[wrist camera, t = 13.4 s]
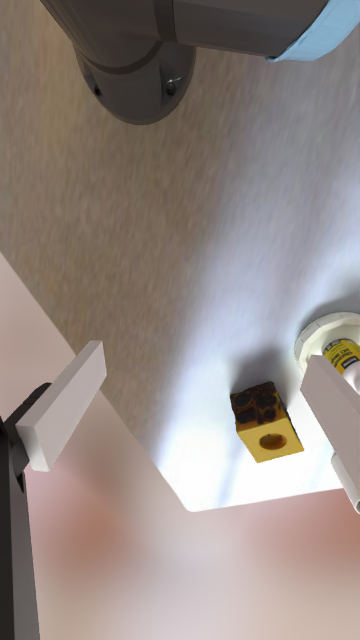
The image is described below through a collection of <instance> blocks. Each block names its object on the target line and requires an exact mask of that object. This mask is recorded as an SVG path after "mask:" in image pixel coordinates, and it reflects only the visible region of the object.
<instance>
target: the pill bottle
mask: <svg viewBox="0 0 360 640" xmlns="http://www.w3.org/2000/svg"><path fill="white" fill-rule="evenodd" d="M321 355H324V356H325V357H326V358H327V359H328V360H329V362H330V363H331V364H332V365H333V366H334V367H335V368H336V369H337V371H338V372H339V373H340V374H341V375H342V376H343V377H344V378H345V380H346V381H347V382H348V383H349V384H350V385H351V386H352V387H353V389H354V390H355V391H356V392H357V393H358V394H359V395H360V346H359V345H358V344H357V343H355V342H354V341H353V340H351V339H349V338H346V337H337V338H334V339H332V340H330V341H328V342H327V343H326V344H325V345H324V347H323V348H322V352H321Z"/></svg>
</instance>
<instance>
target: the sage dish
mask: <svg viewBox="0 0 360 640" xmlns="http://www.w3.org/2000/svg"><path fill="white" fill-rule="evenodd" d="M337 337H346V338H349V339H351V340H353V341H354V342H355V343H357V344H358V345H359V346H360V314H357V313H353V312H335V313H331V314H327V315H324V316H322V317H320V318H318V319H316V320H314V321H313V322H312V323H310V324H309V325H308V326H307V327H306V328H305V329H304V330H303V331H302V332H301V333H300V335H299V336H298V338H297V340H296V343H295V347H294V356H295V360H296V362H297V364H298V365H299V367H300V369H301V371H302V373H303V374H304V375H305V372H306V369H307V366H308V362H309V359H310V356H311V355H321V352H322V348H323V347H324V345H325V344H326V343H327V342H328V341H330V340H332V339H334V338H337Z"/></svg>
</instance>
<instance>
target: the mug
mask: <svg viewBox="0 0 360 640" xmlns="http://www.w3.org/2000/svg"><path fill="white" fill-rule="evenodd" d="M331 464H332V467H333V468H334V470H335V472H336V474H337V476H338V478H339V480H340V482H341V484H342V486H343V487H344V489H345V491H346V493H347V495H348V497H349V499H350V501H351V502H352V504H353V506H354V508H355V510H356V511H357V512H358V513H359V514H360V494H359V492H358V490H357V488H356V487H355V485H354V483H353V481H352V480H351V478H350V476H349V474H348V473H347V471H346V469H345V467H344V466H343V464H342V462H341V460H340V459H339V457H338V455H337V453H336V454H335V455H334V456H333V458H332V460H331Z"/></svg>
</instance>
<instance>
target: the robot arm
mask: <svg viewBox="0 0 360 640" xmlns="http://www.w3.org/2000/svg"><path fill="white" fill-rule="evenodd" d="M40 1H41V2H42V3H43V5H44V6H45V7H46V9H47V10H48V11H49V12H50V14H51V15H52V16H53V18H54V19H55V20H56V22H57V23H58V24H59V25H60V27H61V28H62V29H63V31H64V32H65V33H66V35H67V36H68V37H69V39H70V40H71V41H72V43H73V47H74V50H75V54H76V57H77V61H78V64H79V67H80V70H81V72H82V74H83V77H84V79H85V81H86V83H87V85H88V86H89V88H90V90H91V91H92V93H93V94H94V96H95V97H96V98H97V99H98V101H99V102H100V103H101V104H102V105H103V106H104V107H105V108H106V109H107V110H108V111H109V112H110V113H111V114H112V115H113V116H115V117H116V118H118V119H120V120H122V121H124V122H126V123H130V124H134V125H147V124H151V123H154V122H157V121H159V120H161V119H163V118H164V117H166V116H167V115H168V114H170V113H171V112H172V111H173V110H174V109H175V108H176V106H177V105H178V104H179V102H180V101H181V99H182V98H183V96H184V94H185V92H186V90H187V88H188V86H189V83H190V80H191V77H192V74H193V69H194V64H195V57H196V47H203V48H210V49H217V50H223V51H230V52H237V53H244V54H250V55H257V56H264V57H265V59H266V60H267V61H270V62H276V61H280V60H283V59H288V60H300V61H312V60H316V59H318V58H319V57H321V56H323V55H325V54H326V53H329V52H330V51H332V50H333V49H334V48H335V47H337V46H338V45H339V44H340V43H341V42H342V41H343V40H344V39H345V38H346V37H347V36H348V35H349V34H350V32H351V31H352V30H353V29H354V28H355V27H356V25H357V24H358V23H359V22H360V0H40ZM106 376H107V373H106V366H105V358H104V351H103V344H102V341H94V340H90V342H89V343H88V344H87V345H86V346H85V347H84V348H83V349H82V351H81V352H80V353H79V354H78V355H77V356H76V357H75V358H74V360H73V361H72V362H71V363H70V364H69V365H68V366H67V368H66V369H65V370H64V371H63V372H62V373H61V374H60V375H59V376H58V378H57V379H56V380H55V381H54V382H53V383H44V384H43V385H41V386H40V387H38V388H36V389H35V390H34V391H33V392H32V393H31V394H30V396H29V397H28V398H27V399H26V400H25V401H24V402H23V404H22V405H20V406H19V407H18V408H17V409H16V410H15V411H14V412H13V413H12V414H11V416H9V418H8V419H7V420H6V421H5V422H4V423H3V421H2V419H1V416H0V640H40V634H39V623H38V612H37V601H36V590H35V579H34V569H33V557H32V546H31V536H30V525H29V514H28V503H27V492H26V482H25V474H24V471H23V470H24V468H25V467H26V466H27V464H28V463H29V462H30V464H31V467H32V470H37V471H46V472H49V471H50V470H51V468H52V466H53V465H54V463H55V462H56V460H57V458H58V457H59V455H60V453H61V452H62V450H63V448H64V447H65V445H66V443H67V441H68V440H69V438H70V436H71V435H72V433H73V431H74V429H75V428H76V426H77V425H78V423H79V421H80V419H81V418H82V416H83V415H84V413H85V411H86V409H87V408H88V406H89V404H90V403H91V401H92V399H93V397H94V396H95V394H96V393H97V391H98V389H99V388H100V386H101V384H102V382H103V381H104V379H105V377H106ZM300 391H301V392H302V394H303V396H304V398H305V399H306V401H307V403H308V405H309V406H310V408H311V410H312V412H313V413H314V415H315V417H316V419H317V420H318V422H319V424H320V426H321V427H322V429H323V431H324V433H325V434H326V436H327V438H328V440H329V441H330V443H331V445H332V446H333V448H334V450H335V452H336V453H337V455H338V457H339V459H340V460H341V462H342V464H343V466H344V467H345V469H346V471H347V473H348V474H349V476H350V478H351V480H352V481H353V483H354V485H355V487H356V488H357V490H358V492H359V494H360V395H359V394H358V393H357V392H356V391H355V390H354V389H353V387H352V386H351V385H350V384H349V383H348V382H347V381H346V380H345V378H344V377H343V376H342V375H341V374H340V373H339V372H338V371H337V369H336V368H335V367H334V366H333V365H332V364H331V363H330V362H329V360H328V359H327V358H326V357H325V356H324V355H311V356H310V359H309V362H308V366H307V369H306V372H305V375H304V378H303V382H302V385H301V388H300Z"/></svg>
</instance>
